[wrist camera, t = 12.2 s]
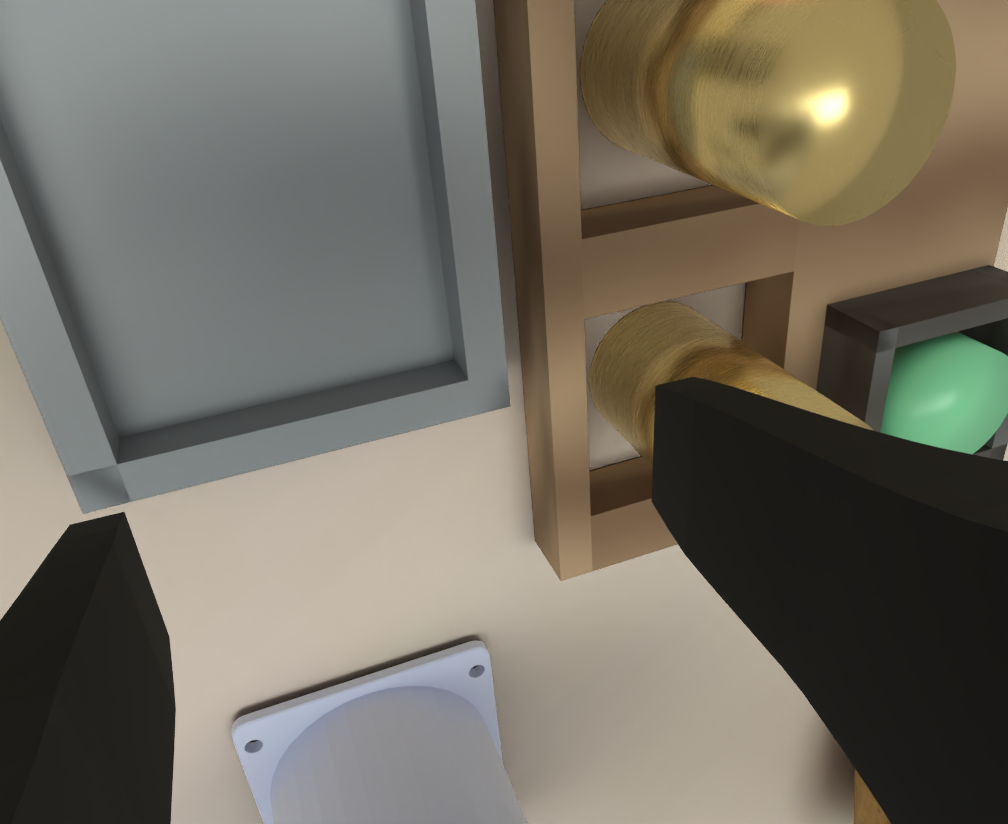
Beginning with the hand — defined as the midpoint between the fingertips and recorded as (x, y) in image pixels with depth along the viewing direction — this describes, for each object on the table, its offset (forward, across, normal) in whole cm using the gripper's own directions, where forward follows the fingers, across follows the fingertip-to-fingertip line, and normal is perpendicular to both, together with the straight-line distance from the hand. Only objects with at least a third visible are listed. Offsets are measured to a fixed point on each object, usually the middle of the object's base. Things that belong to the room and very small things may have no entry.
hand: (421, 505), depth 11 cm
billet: (+10, -9, -4) cm, 14 cm away
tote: (+10, +1, -2) cm, 10 cm away
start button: (+8, -16, +5) cm, 19 cm away
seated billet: (+10, -9, +4) cm, 14 cm away
